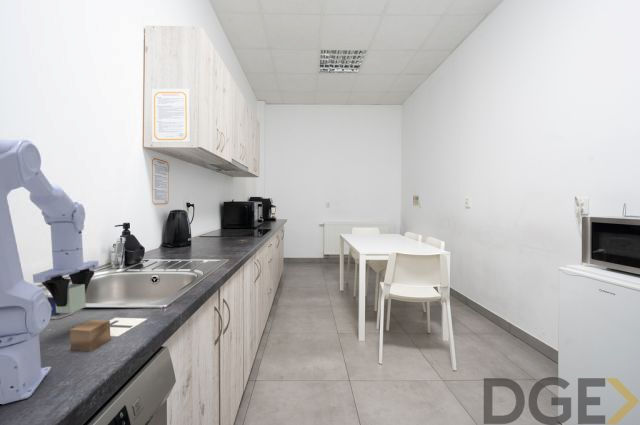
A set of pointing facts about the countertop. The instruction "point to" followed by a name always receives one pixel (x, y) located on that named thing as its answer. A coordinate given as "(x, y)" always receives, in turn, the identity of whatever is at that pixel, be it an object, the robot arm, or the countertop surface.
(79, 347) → the walnut block
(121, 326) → the letter card
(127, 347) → the countertop surface
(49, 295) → the pill bottle
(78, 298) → the sage pillar
